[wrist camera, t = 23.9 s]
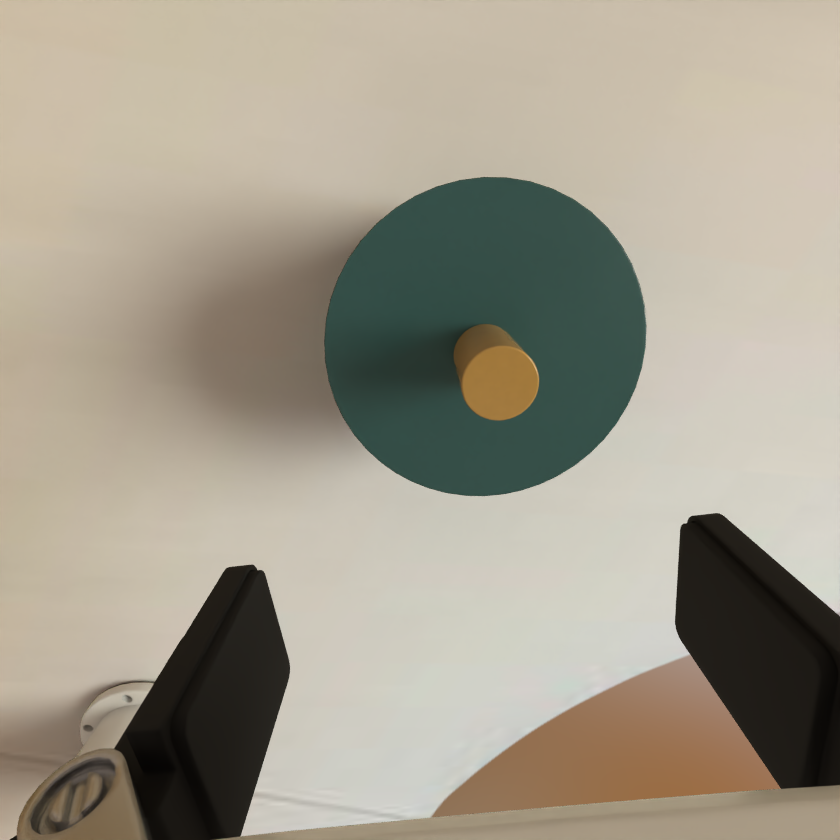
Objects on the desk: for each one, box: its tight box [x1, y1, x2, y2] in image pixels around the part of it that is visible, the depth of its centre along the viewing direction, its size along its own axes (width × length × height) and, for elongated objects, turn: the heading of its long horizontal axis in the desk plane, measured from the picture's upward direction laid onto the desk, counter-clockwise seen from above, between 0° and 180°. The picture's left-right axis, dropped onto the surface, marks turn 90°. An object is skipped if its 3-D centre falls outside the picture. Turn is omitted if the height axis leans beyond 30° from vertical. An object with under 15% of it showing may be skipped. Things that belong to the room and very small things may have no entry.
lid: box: [324, 177, 646, 496], centre depth 20 cm, size 15×15×6 cm
